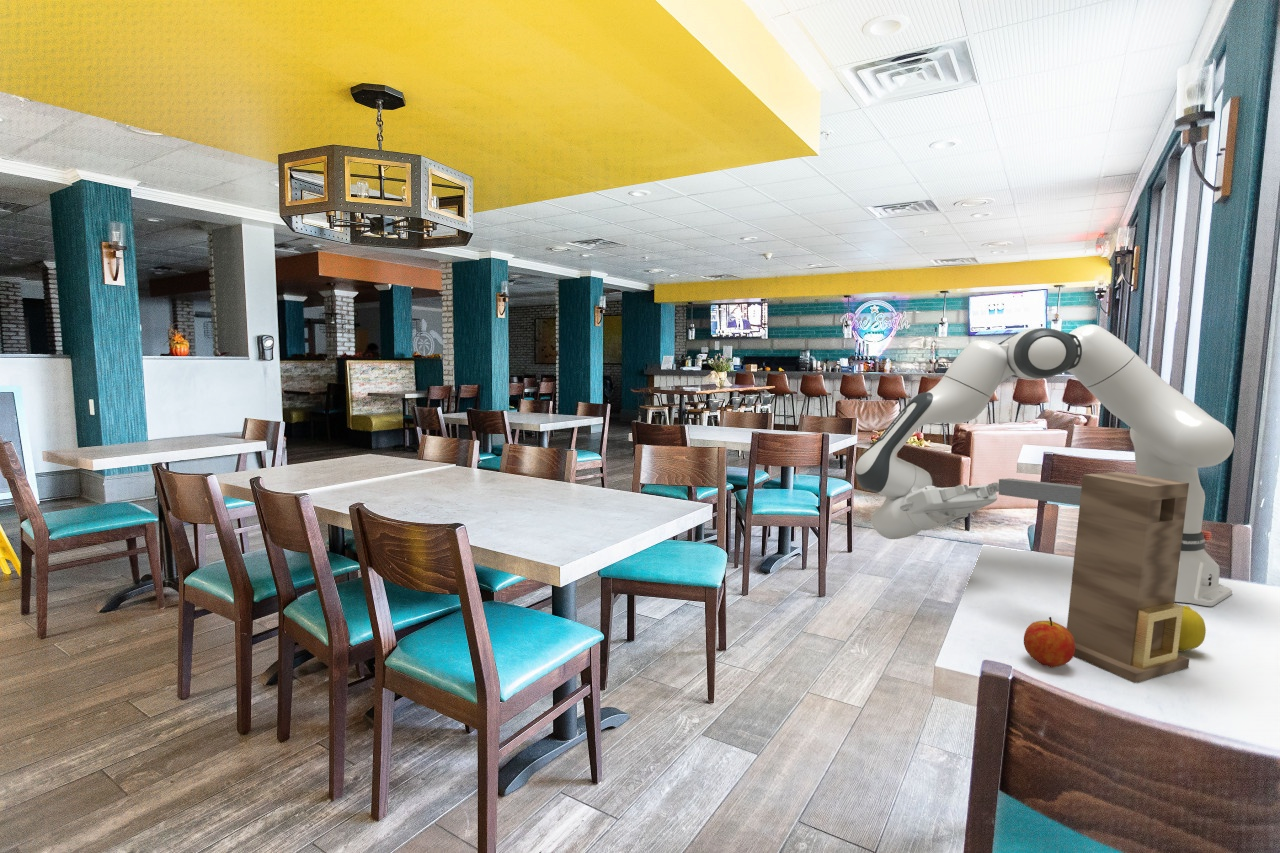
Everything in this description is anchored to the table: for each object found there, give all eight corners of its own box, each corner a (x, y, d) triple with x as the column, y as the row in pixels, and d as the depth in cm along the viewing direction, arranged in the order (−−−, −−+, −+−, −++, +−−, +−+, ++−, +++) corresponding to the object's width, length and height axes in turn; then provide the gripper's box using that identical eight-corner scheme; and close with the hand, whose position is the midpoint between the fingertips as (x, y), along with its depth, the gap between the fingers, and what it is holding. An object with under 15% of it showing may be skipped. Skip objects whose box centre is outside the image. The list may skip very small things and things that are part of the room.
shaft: (1009, 493, 124) (1009, 478, 124) (1150, 512, 102) (1151, 493, 102) (998, 494, 123) (998, 479, 123) (1139, 513, 101) (1139, 495, 101)
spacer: (1166, 656, 103) (1172, 602, 102) (1176, 660, 102) (1183, 606, 101) (1131, 665, 99) (1138, 610, 98) (1142, 669, 98) (1149, 613, 97)
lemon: (1210, 660, 105) (1216, 614, 104) (1172, 656, 106) (1178, 610, 105) (1189, 645, 110) (1194, 601, 110) (1153, 642, 112) (1158, 598, 111)
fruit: (1043, 651, 107) (1047, 606, 106) (1083, 671, 100) (1088, 623, 99) (1011, 657, 104) (1016, 610, 104) (1050, 677, 98) (1055, 628, 97)
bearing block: (1097, 632, 115) (1115, 469, 112) (1188, 667, 102) (1211, 484, 99) (1045, 644, 110) (1062, 473, 106) (1135, 683, 97) (1158, 490, 93)
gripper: (890, 495, 137) (939, 474, 125) (959, 490, 145) (1010, 470, 133) (899, 524, 134) (950, 505, 123) (968, 517, 143) (1022, 499, 131)
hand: (982, 487), depth 128 cm, fingers open, 8 cm apart
